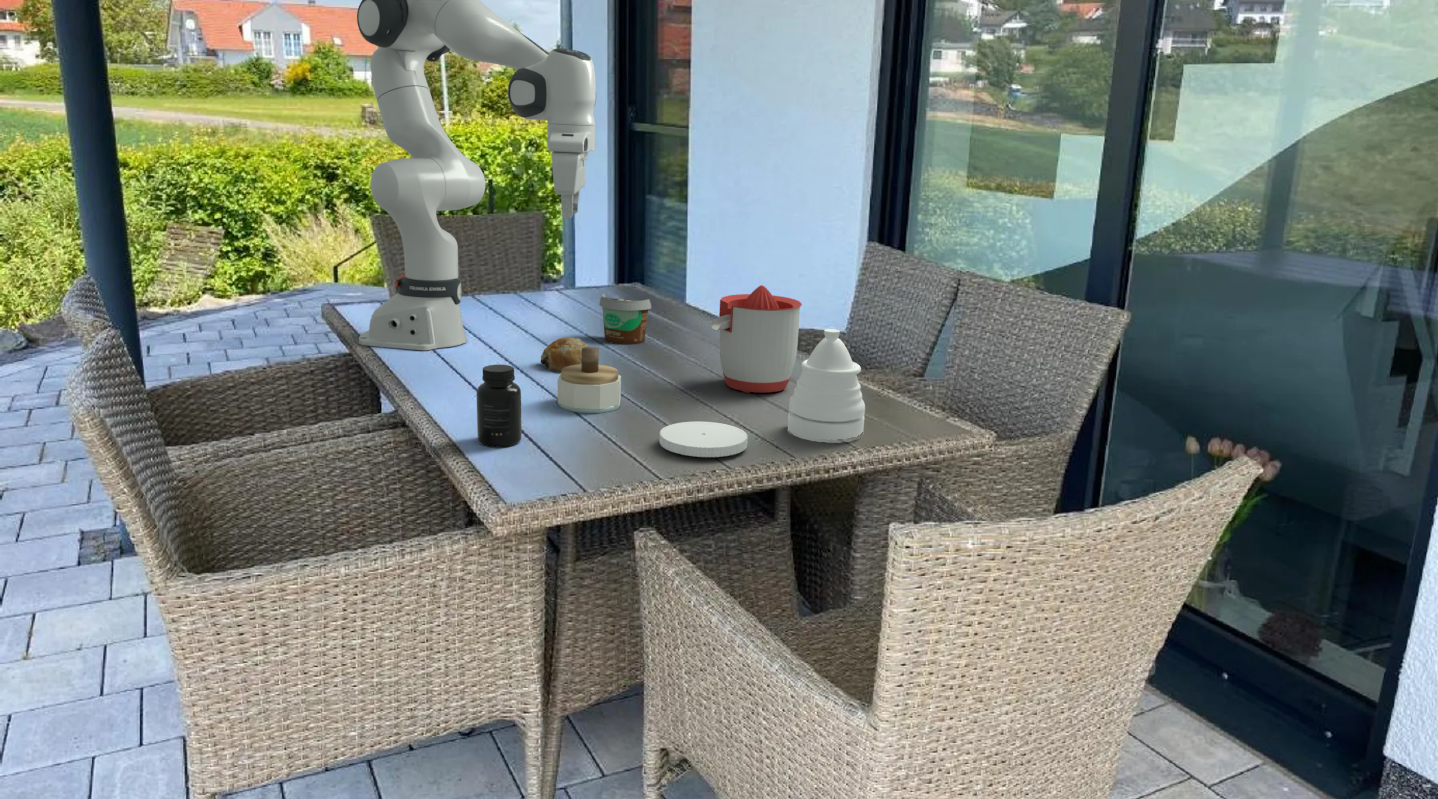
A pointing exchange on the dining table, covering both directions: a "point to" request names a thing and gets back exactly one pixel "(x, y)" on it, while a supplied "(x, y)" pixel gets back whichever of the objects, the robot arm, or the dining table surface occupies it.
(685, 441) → the plastic lid
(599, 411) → the octagonal jar
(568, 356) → the bread roll
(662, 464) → the dining table surface
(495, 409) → the supplement bottle
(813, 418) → the honey pot
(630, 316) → the food container
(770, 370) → the citrus juicer
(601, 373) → the wooden lid
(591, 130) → the robot arm
